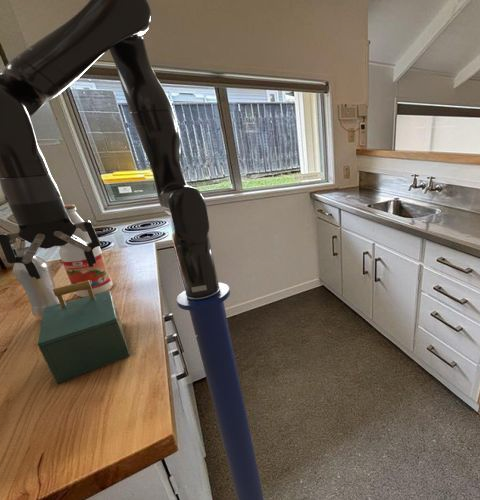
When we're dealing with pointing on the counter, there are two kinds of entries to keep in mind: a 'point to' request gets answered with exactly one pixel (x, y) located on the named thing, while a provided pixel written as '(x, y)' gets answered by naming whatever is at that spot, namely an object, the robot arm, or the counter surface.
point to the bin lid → (75, 314)
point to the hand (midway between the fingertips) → (66, 271)
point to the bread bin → (86, 351)
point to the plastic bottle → (36, 284)
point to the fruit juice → (84, 261)
